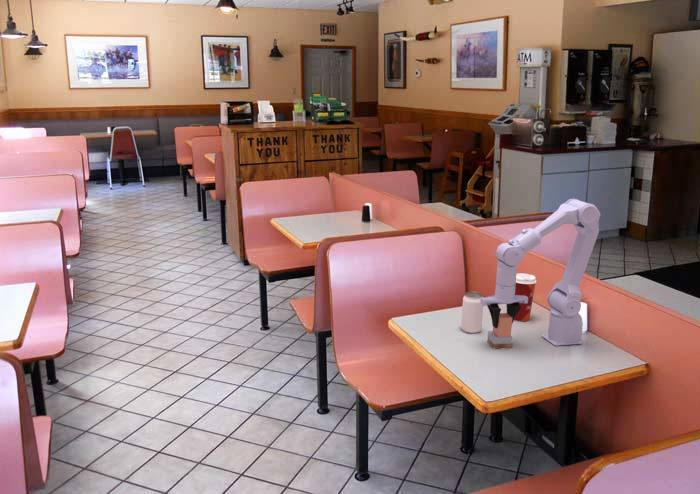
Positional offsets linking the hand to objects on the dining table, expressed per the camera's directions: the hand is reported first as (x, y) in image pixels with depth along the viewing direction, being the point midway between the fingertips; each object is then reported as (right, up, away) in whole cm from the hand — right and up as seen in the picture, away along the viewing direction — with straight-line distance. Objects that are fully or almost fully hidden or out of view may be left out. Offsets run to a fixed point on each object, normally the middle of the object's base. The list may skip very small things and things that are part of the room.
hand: (501, 326), depth 192 cm
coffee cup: (+12, 0, +24) cm, 27 cm away
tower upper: (-1, -4, +1) cm, 5 cm away
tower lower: (0, -6, +1) cm, 7 cm away
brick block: (0, -2, 0) cm, 2 cm away
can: (-7, -3, +13) cm, 15 cm away
